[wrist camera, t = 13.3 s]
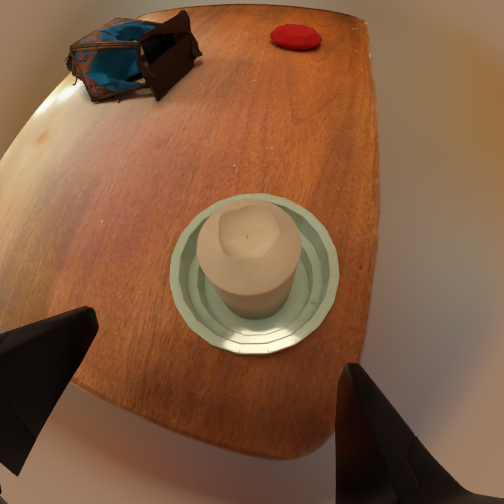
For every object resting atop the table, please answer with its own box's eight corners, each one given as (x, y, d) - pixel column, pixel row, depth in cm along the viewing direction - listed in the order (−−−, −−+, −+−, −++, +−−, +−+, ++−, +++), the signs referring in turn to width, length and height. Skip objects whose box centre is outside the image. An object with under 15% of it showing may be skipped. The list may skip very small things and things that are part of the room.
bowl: (304, 372, 20) (314, 375, 15) (169, 329, 22) (145, 319, 17) (336, 243, 24) (351, 215, 19) (216, 212, 26) (205, 180, 21)
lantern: (195, 108, 41) (92, 101, 44) (214, 22, 34) (105, 31, 37) (137, 106, 27) (31, 107, 30) (165, -12, 20) (47, 21, 22)
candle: (260, 335, 21) (254, 312, 12) (207, 291, 23) (167, 239, 13) (303, 281, 22) (326, 222, 13) (250, 242, 24) (240, 167, 15)
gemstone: (284, 55, 37) (284, 40, 34) (263, 38, 41) (262, 25, 38) (329, 50, 38) (331, 37, 35) (305, 33, 41) (305, 21, 39)
